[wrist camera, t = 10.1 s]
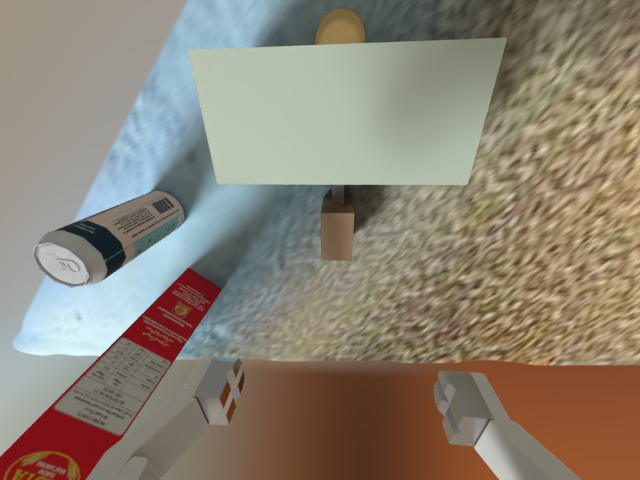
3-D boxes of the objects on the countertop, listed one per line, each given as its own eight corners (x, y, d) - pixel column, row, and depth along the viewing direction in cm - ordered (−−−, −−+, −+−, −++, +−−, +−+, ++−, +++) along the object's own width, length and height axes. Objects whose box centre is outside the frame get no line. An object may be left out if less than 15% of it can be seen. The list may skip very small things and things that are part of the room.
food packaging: (176, 340, 39) (-39, 638, 17) (146, 323, 37) (-132, 624, 15) (221, 289, 33) (-15, 640, 11) (188, 268, 32) (-161, 618, 10)
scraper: (375, 73, 20) (385, 61, 16) (362, 238, 28) (366, 261, 23) (306, 75, 21) (297, 63, 16) (311, 237, 28) (306, 259, 24)
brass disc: (366, 13, 19) (367, 7, 18) (362, 74, 21) (363, 71, 20) (316, 15, 19) (315, 9, 18) (316, 74, 21) (315, 72, 20)
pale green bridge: (447, 65, 20) (507, 37, 13) (428, 164, 24) (467, 184, 16) (238, 72, 21) (188, 49, 14) (251, 165, 25) (217, 184, 18)
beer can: (141, 187, 27) (12, 232, 16) (183, 191, 27) (80, 241, 16) (151, 225, 29) (43, 288, 18) (190, 230, 29) (103, 295, 18)
